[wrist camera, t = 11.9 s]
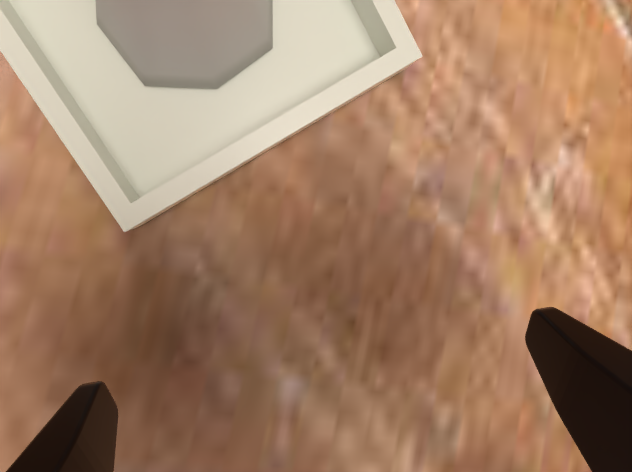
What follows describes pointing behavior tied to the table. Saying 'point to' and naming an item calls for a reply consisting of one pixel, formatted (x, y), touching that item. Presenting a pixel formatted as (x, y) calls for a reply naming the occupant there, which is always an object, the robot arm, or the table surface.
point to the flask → (187, 38)
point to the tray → (194, 94)
